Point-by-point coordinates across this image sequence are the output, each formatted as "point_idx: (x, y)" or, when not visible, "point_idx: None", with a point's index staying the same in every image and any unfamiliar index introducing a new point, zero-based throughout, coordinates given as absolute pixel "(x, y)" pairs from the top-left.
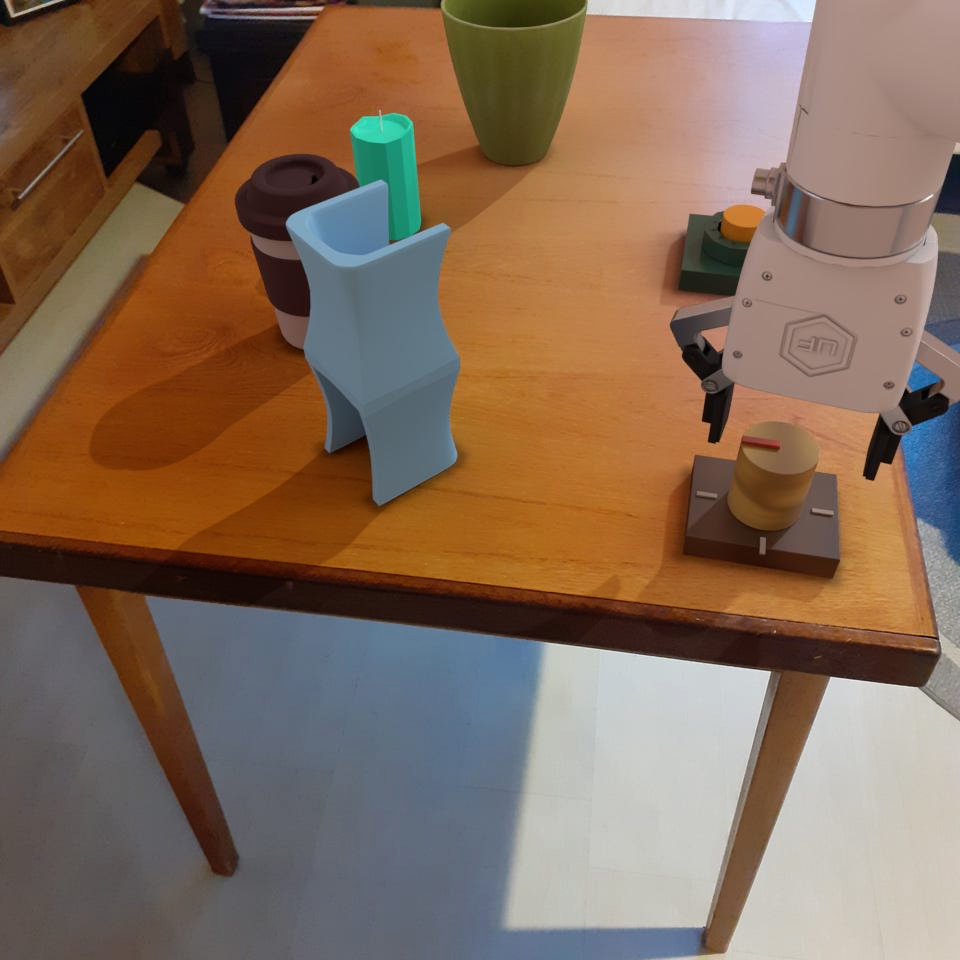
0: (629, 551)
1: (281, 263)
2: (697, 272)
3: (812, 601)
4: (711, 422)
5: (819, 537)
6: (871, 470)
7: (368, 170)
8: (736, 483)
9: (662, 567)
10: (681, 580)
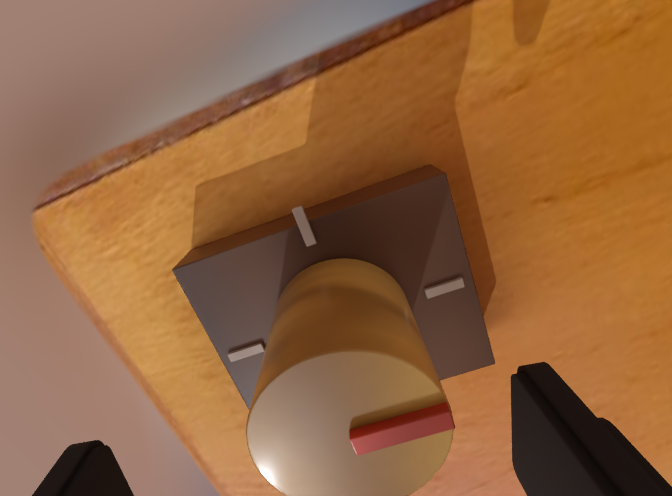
0: (522, 118)
1: None
2: None
3: (196, 187)
4: (599, 423)
5: (225, 298)
6: (61, 475)
7: None
8: (406, 313)
9: (453, 115)
10: (410, 105)
